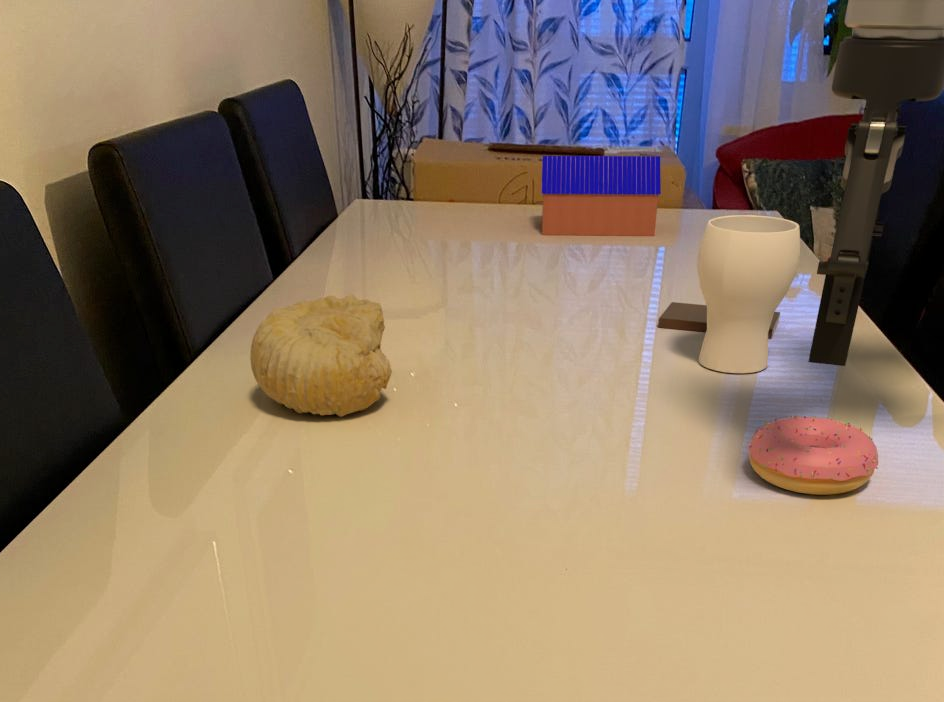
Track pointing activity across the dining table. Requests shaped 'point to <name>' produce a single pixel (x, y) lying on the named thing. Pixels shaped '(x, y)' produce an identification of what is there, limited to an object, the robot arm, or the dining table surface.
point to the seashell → (322, 355)
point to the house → (600, 195)
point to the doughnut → (813, 455)
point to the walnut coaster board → (695, 318)
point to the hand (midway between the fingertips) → (833, 338)
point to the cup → (744, 287)
